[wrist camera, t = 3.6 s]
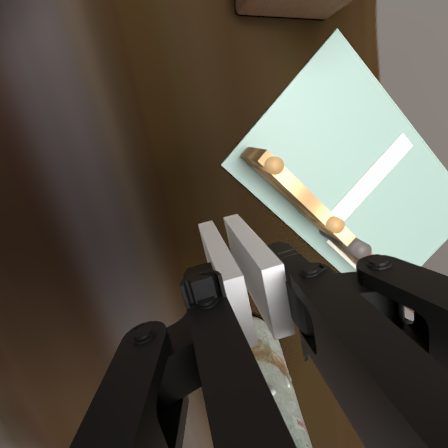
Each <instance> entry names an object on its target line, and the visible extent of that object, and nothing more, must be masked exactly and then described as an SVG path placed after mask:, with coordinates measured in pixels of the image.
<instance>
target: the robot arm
mask: <svg viewBox="0 0 448 448" xmlns="http://www.w3.org/2000/svg"><path fill="white" fill-rule="evenodd" d="M223 219H224V223H225V228H226V232H227V237H228V241H229V246H230V250H231V253H230V251H229V249H228V247H227V246H226V244H225V242H224V240H223V239H222V237H221V235H220V233H219V232H218V230H217V228H216V226H215V225H214V223H213V221H208V222H204V223H201V224H198V227H199V231H200V235H201V239H202V242H203V246H204V250H205V254H206V258H207V262H208V263H205V264H201V265H198V266H194V267H191V268H188V269H187V270H186V272H185V274H184V279H183V280H182V281H181V283H180V289H181V292H182V295H183V299H184V302H185V306H186V309H187V313H186V314H185V315H184V317H183V318H182V319H180V320H179V321H178V322H176V323H175V324H173V325H171V326H169V327H167V328H166V326H165V325H164V324H163V323H162V322H158V321H150V322H146V323H142V324H139V325H137V326H136V327H134V328H133V329H131V330H130V331H129V332H128V333H126V335H125V336H124V337H123V339H122V341H121V343H120V345H119V347H118V349H117V351H116V353H115V355H114V357H113V359H112V361H111V363H110V365H109V367H108V369H107V371H106V373H105V376H104V378H103V380H102V382H101V384H100V386H99V388H98V390H97V392H96V394H95V396H94V398H93V400H92V402H91V404H90V406H89V408H88V411H87V413H86V415H85V417H84V419H83V421H82V423H81V425H80V427H79V429H78V431H77V433H76V435H75V437H74V439H73V441H72V443H71V445H70V448H182V445H183V438H184V431H185V424H186V417H187V410H188V403H189V399H188V394H190V393H191V392H193V391H195V390H196V389H198V388H199V387H201V386H202V390H203V395H204V400H205V405H206V410H207V415H208V420H209V425H210V431H211V436H212V441H213V446H214V448H297V447H296V445H295V443H294V440H293V438H292V436H291V434H290V432H289V430H288V428H287V425H286V423H285V421H284V419H283V417H282V415H281V412H280V410H279V408H278V406H277V404H276V402H275V400H274V397H273V395H272V393H271V391H270V389H269V387H268V384H267V382H266V380H265V378H264V376H263V374H262V372H261V369H260V367H259V365H258V363H257V361H256V359H255V356H254V354H253V352H252V350H251V348H252V347H255V346H259V345H258V340H257V336H256V331H255V327H254V322H253V317H252V313H251V308H250V303H249V299H248V294H247V290H248V292H249V293H250V295H251V297H252V299H253V301H254V303H255V305H256V306H257V308H258V310H259V312H260V314H261V316H262V317H263V319H264V321H265V323H266V325H267V327H268V329H269V330H270V332H271V334H272V336H273V338H274V340H278V339H281V338H284V337H287V336H290V335H293V334H295V328H294V322H295V324H296V325H297V326H298V328H299V332H300V338H301V345H302V351H303V356H304V360H305V361H307V360H308V357H307V353H308V354H309V355H310V357H311V359H312V360H313V362H314V364H315V365H316V367H317V368H318V370H319V372H320V373H321V375H322V377H323V378H324V380H325V382H326V383H327V385H328V387H329V388H330V390H331V392H332V393H333V395H334V396H335V398H336V400H337V401H338V403H339V405H340V406H341V408H342V410H343V411H344V413H345V415H346V416H347V418H348V420H349V421H350V423H351V424H352V426H353V428H354V429H355V431H356V433H357V434H358V436H359V438H360V439H361V441H362V443H363V444H364V446H365V448H448V276H446V275H443V274H440V273H437V272H435V271H432V270H429V269H426V268H423V267H421V266H418V265H415V264H412V263H409V262H407V261H404V260H401V259H398V258H395V257H392V256H388V255H380V254H374V255H369V256H366V257H363V258H361V259H359V260H358V261H357V263H356V271H355V272H346V273H335V272H334V271H333V270H332V269H331V268H330V267H328V266H326V265H325V264H321V263H310V262H308V261H307V260H306V259H305V258H304V257H303V256H302V255H300V254H299V253H298V252H297V251H296V250H294V248H293V247H291V246H290V245H289V244H286V243H283V242H277V243H273V244H270V245H266V244H265V243H264V242H263V241H262V240H261V239H260V238H259V237H258V236H257V235H256V234H255V232H254V231H253V230H252V229H251V228H250V227H249V226H248V225H247V224H246V223H245V222H244V221H243V220H242V218H241V217H240V216H239V215H238V214H235V215H231V216H227V217H223ZM246 288H247V290H246ZM404 306H405V307H407V308H409V309H411V310H413V311H414V321H411V320H408V319H406V318H405V316H404ZM293 321H294V322H293Z"/></svg>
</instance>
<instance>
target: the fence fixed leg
mask: <svg viewBox="0 0 448 448" xmlns="http://www.w3.org/2000/svg"><path fill="white" fill-rule="evenodd" d="M319 232H320V234H321V235H322V236H324V237H325V238H327V239H329V240H330V241H331V242H332V243H333V244H334V245H335V246H336V247H337V248H339V249H340V250H341V251H342V252H343V253H344V254H345V255H346V256H347V257H348V258H349V259H350V260H351V261H352V262H354V263H355V264H356V263H357V261H358V260H359V259H361V258H363V257H366V256H369V255H374V254H373V253H372V252H371V251H372V248H371V246H370V245H369V244H367V243H365V242H363V241H362V240H360V239H358V238H356V237H355V239H354V240H353V241H352V242H351V243H350V244H349V245H348V246H346V245H344V244H343V243H341V242H339V241H338V240H336V239H334V238H333V237H331V236H329V235H328V234H326V233H324V232H323V231H321V230H320V229H319ZM406 308H407V307H406ZM407 309H409V308H407ZM409 310H410V311H412V312H413V313H414V311H413V310H411V309H409Z"/></svg>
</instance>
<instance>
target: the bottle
mask: <svg viewBox="0 0 448 448" xmlns="http://www.w3.org/2000/svg"><path fill="white" fill-rule="evenodd" d="M252 317H253V322H254V327H255V331H256V336H257V340H258V345H259V346H255V347H252V348H251V350H252V352H253V354H254V356H255V359H256V361H257V363H258V365H259V367H260V369H261V372H262V374H263V376H264V378H265V380H266V382H267V384H268V387H269V389H270V391H271V393H272V395H273V397H274V400H275V402H276V404H277V406H278V408H279V410H280V412H281V415H282V417H283V419H284V421H285V423H286V425H287V428H288V430H289V432H290V434H291V436H292V438H293V440H294V443H295V445H296V447H297V448H312V445H311V442H310V439H309V435H308V432H307V429H306V427H305V424H304V421H303V418H302V415H301V411H300V408H299V405H298V402H297V398H296V395H295V392H294V388H293V385H292V381H291V377H290V375H289V372H288V369H287V366H286V363H285V359H284V356H283V353H282V350H281V347H280V343H279V340H274V338H273V336H272V334H271V332H270V330H269V329H268V327H267V325H266V323H265V321H263V320H261V319H260V318H258V317H254V316H252Z"/></svg>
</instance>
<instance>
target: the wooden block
mask: <svg viewBox="0 0 448 448" xmlns="http://www.w3.org/2000/svg"><path fill="white" fill-rule="evenodd" d="M351 1H353V0H236V12H237V13H238V14H240V15H256V16H273V17H291V18H309V19H327V18H328V17H330V16H331V15H333V14H334V13H336V12H337V11H338V10H340V9H341V8H343V7H344V6H345V5H347V4H348V3H350V2H351Z"/></svg>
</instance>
